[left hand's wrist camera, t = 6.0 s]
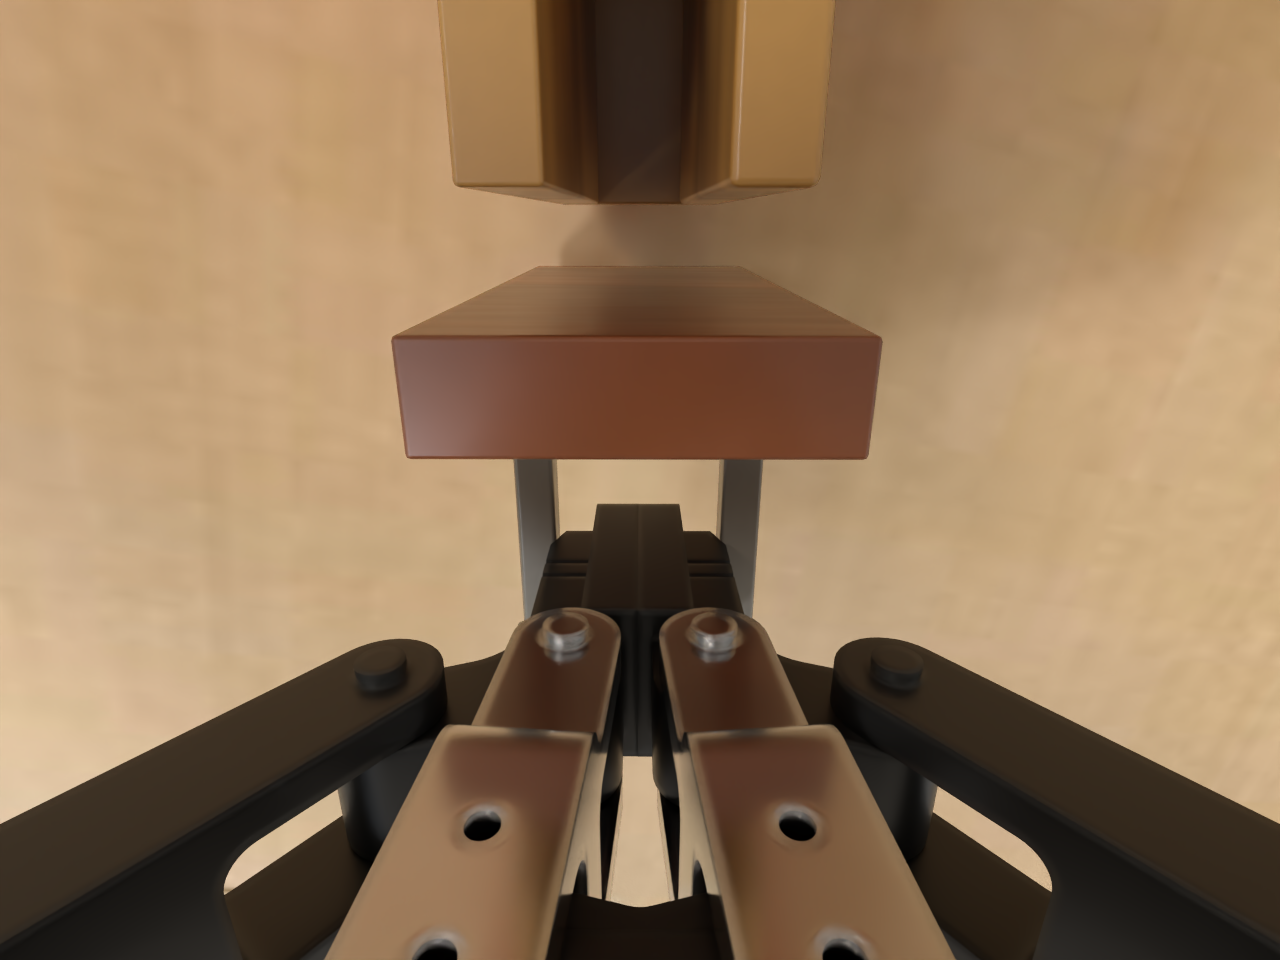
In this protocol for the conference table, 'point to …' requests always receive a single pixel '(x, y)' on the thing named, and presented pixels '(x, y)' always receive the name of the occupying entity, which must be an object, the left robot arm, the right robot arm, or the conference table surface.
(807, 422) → the drawer
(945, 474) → the conference table surface
